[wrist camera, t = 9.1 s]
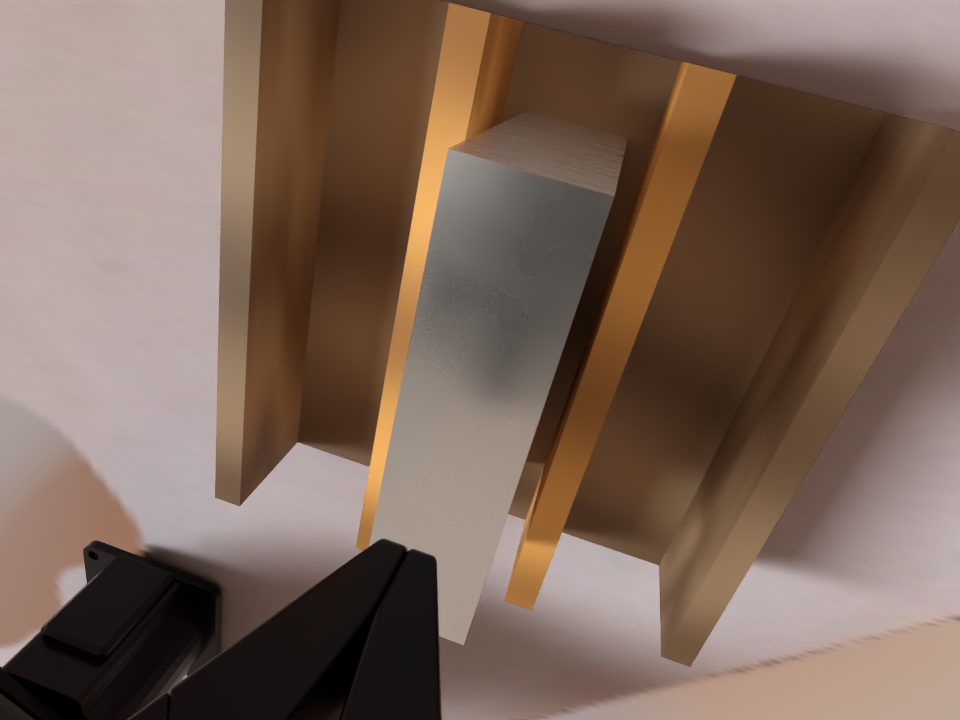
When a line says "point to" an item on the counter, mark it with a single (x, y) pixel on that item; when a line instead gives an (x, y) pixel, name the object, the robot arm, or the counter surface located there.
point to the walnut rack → (609, 286)
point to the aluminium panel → (490, 339)
